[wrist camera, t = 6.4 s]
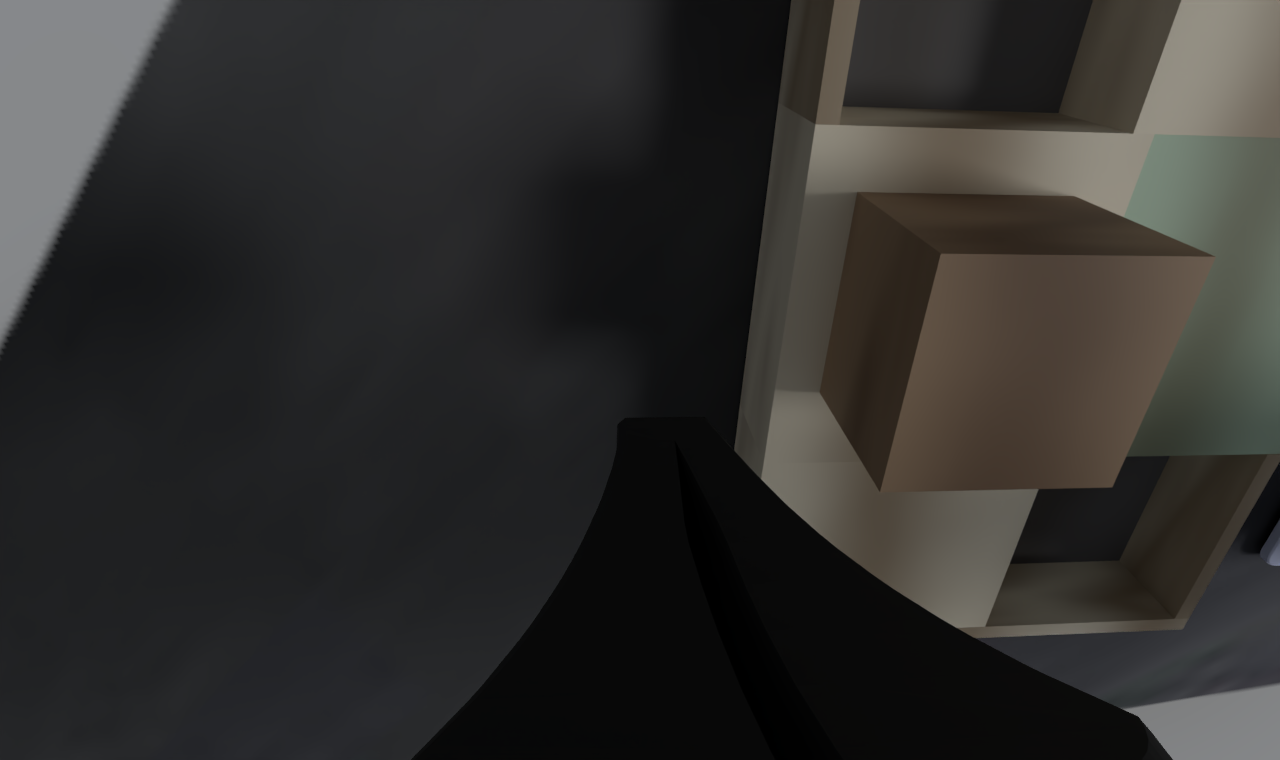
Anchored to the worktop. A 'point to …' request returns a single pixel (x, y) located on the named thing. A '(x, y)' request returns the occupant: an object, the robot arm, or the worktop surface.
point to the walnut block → (1001, 338)
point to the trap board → (1046, 166)
